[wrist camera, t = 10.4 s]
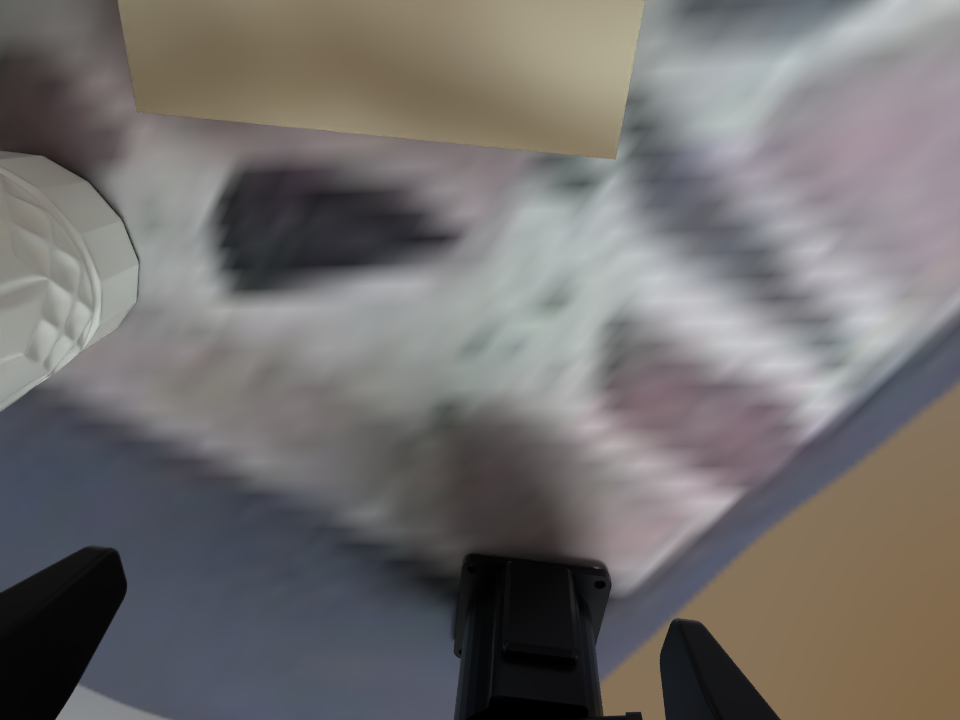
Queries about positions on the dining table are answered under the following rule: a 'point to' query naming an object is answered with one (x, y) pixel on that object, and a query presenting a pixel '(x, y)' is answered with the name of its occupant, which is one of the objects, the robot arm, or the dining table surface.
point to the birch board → (394, 67)
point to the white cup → (56, 270)
